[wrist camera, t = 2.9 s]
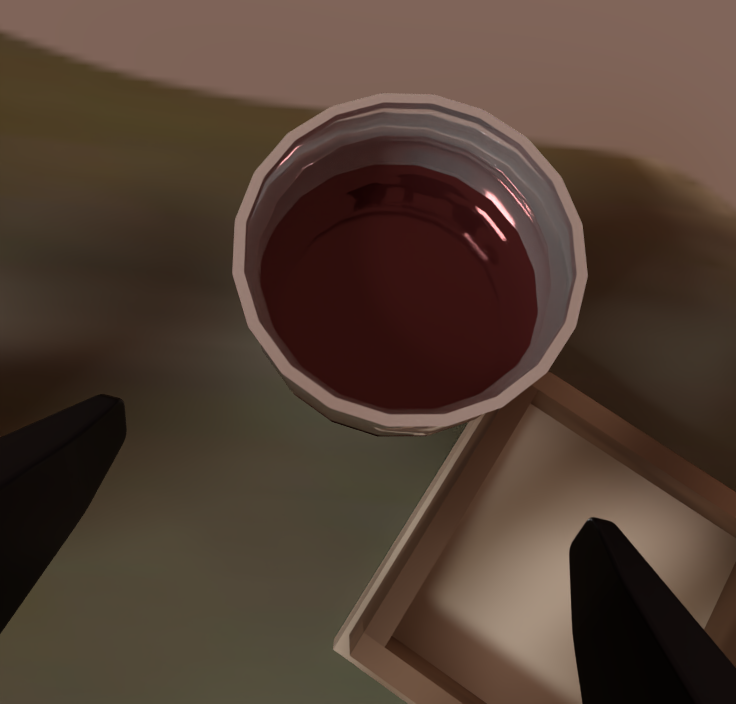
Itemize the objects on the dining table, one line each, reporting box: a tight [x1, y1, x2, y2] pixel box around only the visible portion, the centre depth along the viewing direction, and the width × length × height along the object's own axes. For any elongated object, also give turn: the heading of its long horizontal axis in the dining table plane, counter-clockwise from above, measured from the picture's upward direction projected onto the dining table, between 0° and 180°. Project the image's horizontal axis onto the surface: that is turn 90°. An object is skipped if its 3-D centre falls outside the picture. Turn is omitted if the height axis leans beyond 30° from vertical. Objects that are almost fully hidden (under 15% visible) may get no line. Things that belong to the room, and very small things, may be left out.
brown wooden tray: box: [333, 371, 736, 704], centre depth 18 cm, size 21×13×3 cm, turn 56°
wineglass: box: [232, 93, 588, 436], centre depth 15 cm, size 7×7×12 cm
